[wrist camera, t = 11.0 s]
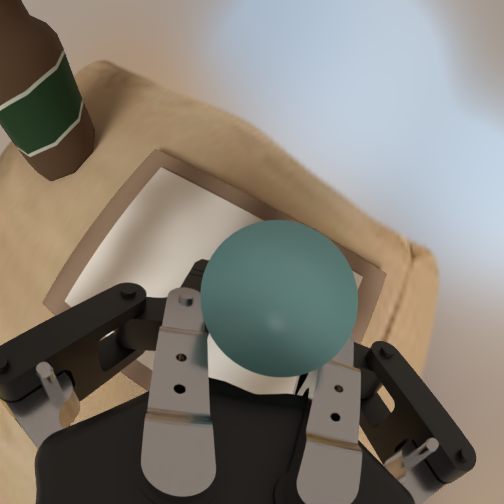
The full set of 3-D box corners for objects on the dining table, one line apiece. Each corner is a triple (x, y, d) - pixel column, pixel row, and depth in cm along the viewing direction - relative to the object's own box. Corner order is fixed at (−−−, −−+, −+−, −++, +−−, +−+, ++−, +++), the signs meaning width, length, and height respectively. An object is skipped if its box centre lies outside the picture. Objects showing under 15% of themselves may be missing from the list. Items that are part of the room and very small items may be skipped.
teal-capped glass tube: (203, 341, 17) (168, 325, 6) (232, 292, 18) (250, 195, 7) (255, 370, 17) (318, 403, 6) (283, 319, 18) (376, 265, 7)
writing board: (48, 305, 18) (40, 301, 16) (156, 155, 23) (154, 146, 22) (291, 459, 16) (296, 465, 15) (380, 277, 21) (388, 272, 20)
